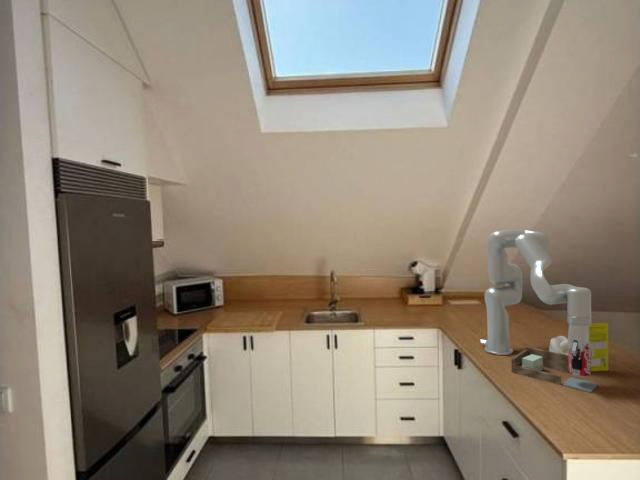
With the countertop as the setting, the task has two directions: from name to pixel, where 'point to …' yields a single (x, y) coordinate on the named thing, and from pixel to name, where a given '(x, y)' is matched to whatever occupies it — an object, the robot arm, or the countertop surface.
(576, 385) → the slate mat
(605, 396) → the countertop surface
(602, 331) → the food package
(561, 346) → the white decorative knot
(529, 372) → the frame
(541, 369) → the offcut lower
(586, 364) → the soda can
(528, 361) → the offcut upper
